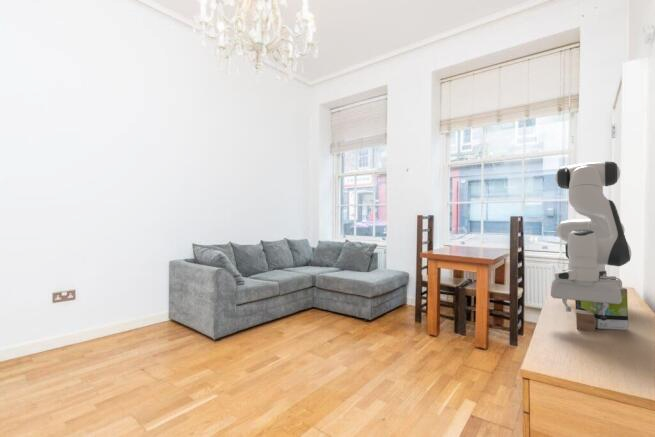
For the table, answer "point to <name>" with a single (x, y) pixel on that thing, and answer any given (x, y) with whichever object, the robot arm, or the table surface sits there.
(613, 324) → the tea box
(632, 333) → the table surface
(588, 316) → the walnut block
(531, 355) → the table surface
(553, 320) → the table surface
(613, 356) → the table surface
